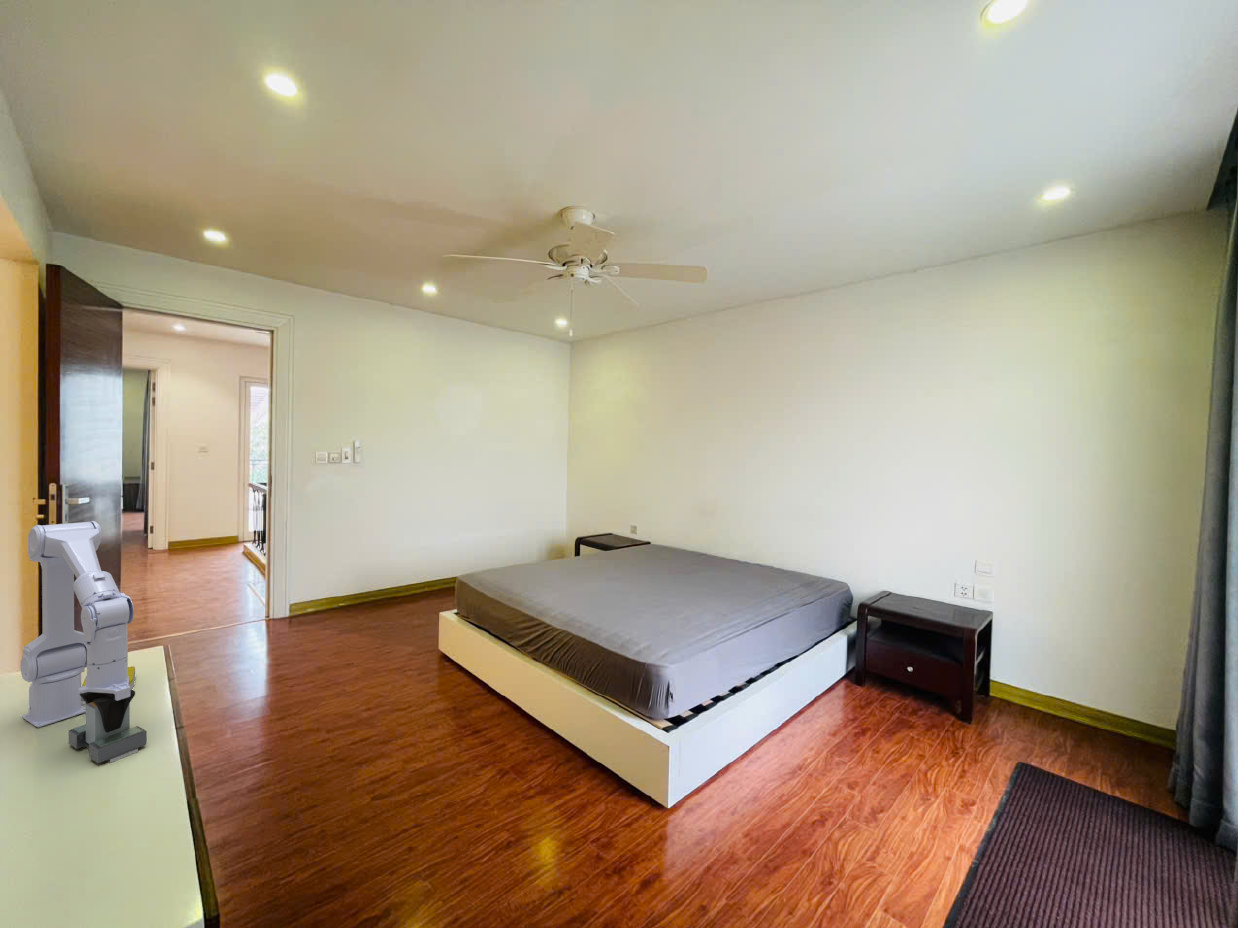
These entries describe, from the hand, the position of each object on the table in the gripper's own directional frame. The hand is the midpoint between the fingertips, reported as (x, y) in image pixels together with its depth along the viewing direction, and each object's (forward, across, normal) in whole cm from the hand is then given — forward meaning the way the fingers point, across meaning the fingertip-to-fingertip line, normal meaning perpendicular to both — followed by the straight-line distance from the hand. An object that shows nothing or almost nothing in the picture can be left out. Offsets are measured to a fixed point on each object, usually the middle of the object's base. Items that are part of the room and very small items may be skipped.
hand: (107, 726), depth 99 cm
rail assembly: (+4, 0, 0) cm, 4 cm away
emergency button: (+5, -34, +11) cm, 36 cm away
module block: (+2, 0, 0) cm, 2 cm away
